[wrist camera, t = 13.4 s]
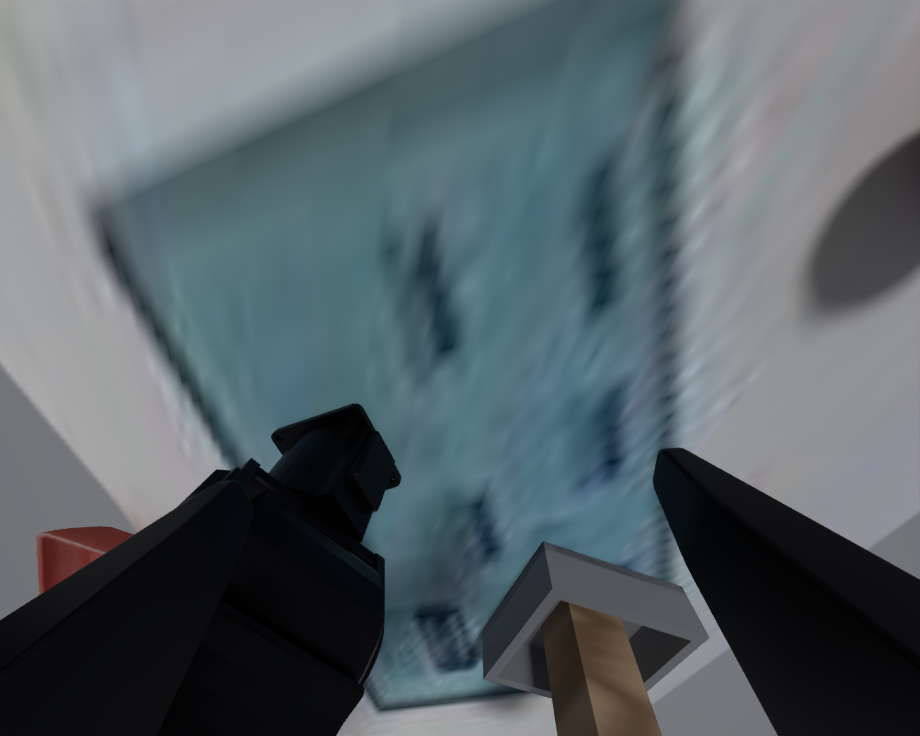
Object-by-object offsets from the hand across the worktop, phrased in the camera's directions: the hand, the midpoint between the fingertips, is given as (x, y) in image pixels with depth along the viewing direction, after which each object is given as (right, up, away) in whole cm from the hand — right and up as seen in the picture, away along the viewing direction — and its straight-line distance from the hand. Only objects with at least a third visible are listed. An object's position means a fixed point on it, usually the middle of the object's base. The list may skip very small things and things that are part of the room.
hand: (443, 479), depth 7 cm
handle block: (+10, -18, +20) cm, 28 cm away
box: (+10, -17, +21) cm, 29 cm away
